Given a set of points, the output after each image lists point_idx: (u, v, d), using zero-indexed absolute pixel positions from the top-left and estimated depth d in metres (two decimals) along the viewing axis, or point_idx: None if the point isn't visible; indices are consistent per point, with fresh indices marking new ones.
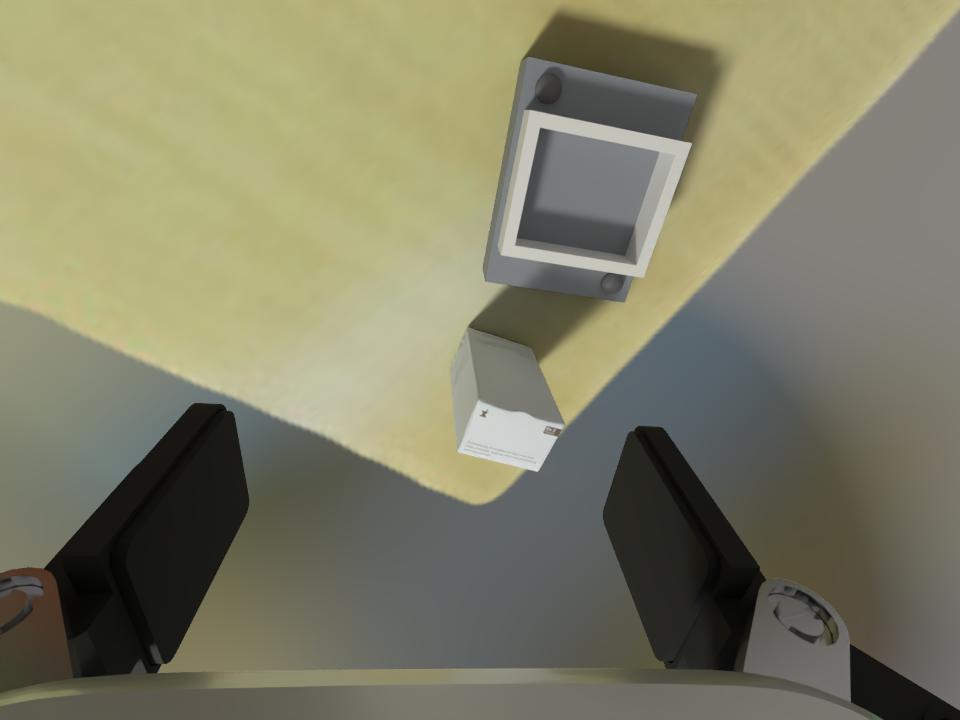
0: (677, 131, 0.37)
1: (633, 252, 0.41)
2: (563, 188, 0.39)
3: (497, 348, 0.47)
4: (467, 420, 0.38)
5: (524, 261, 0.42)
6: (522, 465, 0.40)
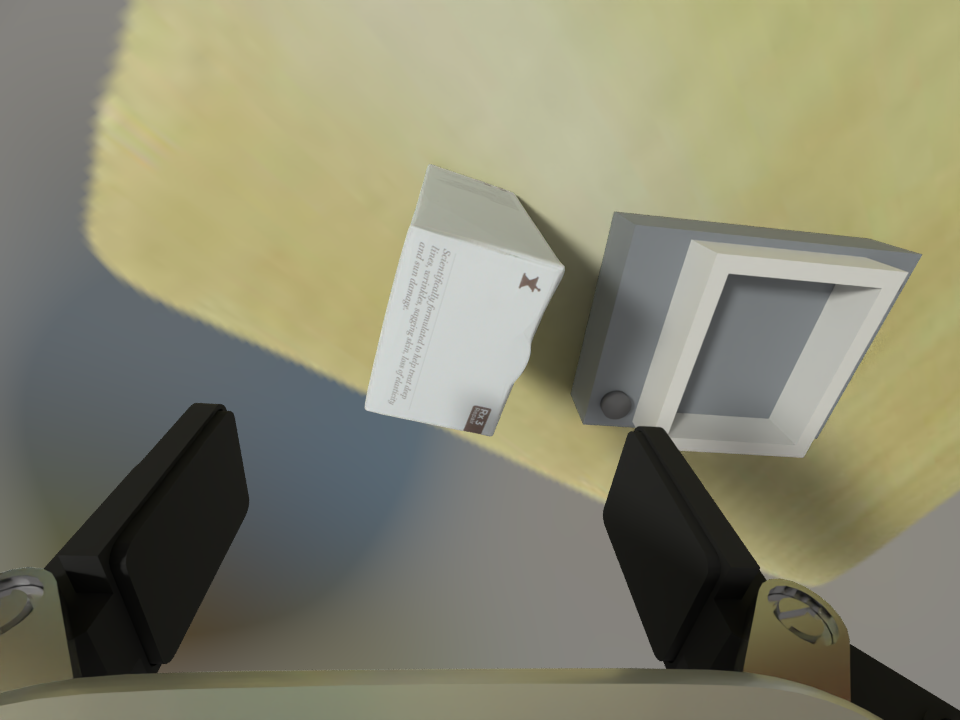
0: None
1: None
2: (753, 321, 0.29)
3: None
4: (497, 243, 0.16)
5: (660, 283, 0.27)
6: (381, 379, 0.18)
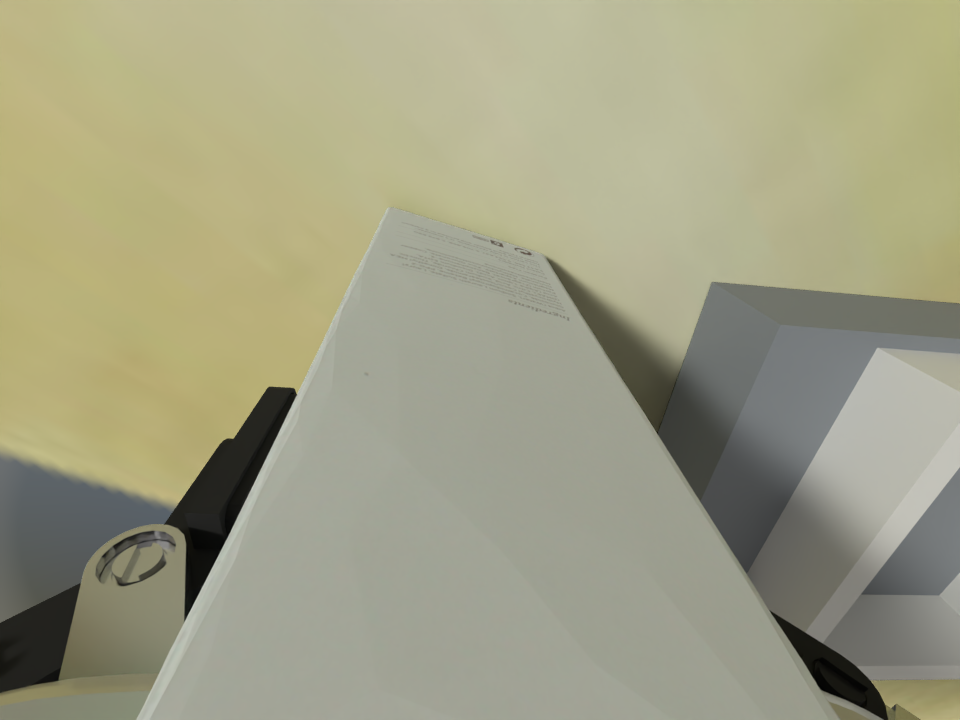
0: None
1: None
2: None
3: None
4: (596, 717, 0.03)
5: (807, 419, 0.15)
6: None
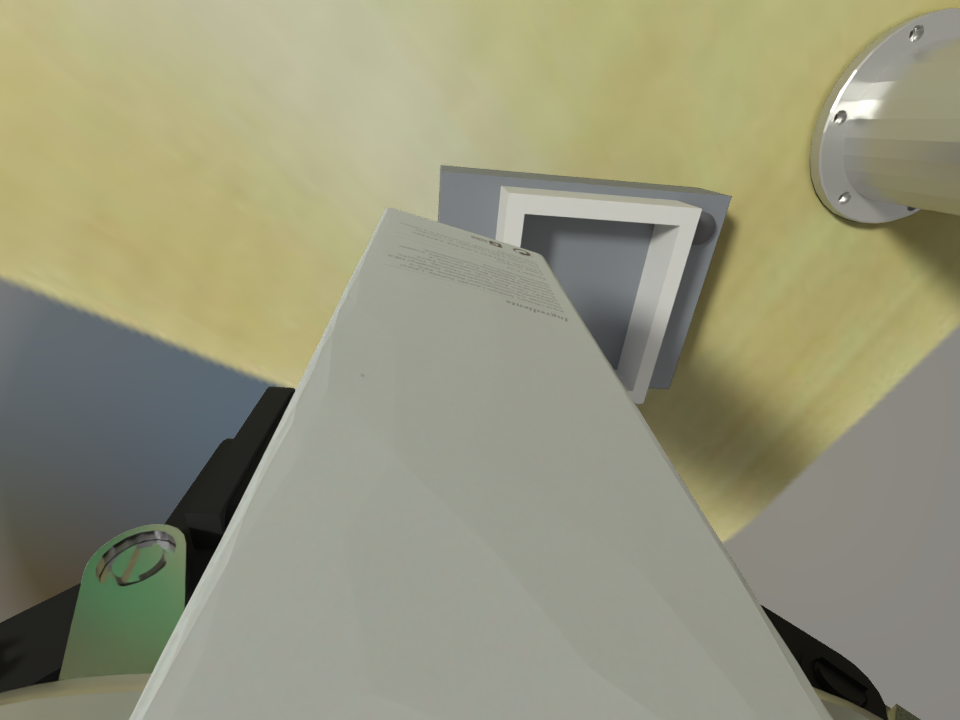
0: None
1: None
2: (580, 269, 0.29)
3: None
4: None
5: (479, 232, 0.28)
6: None
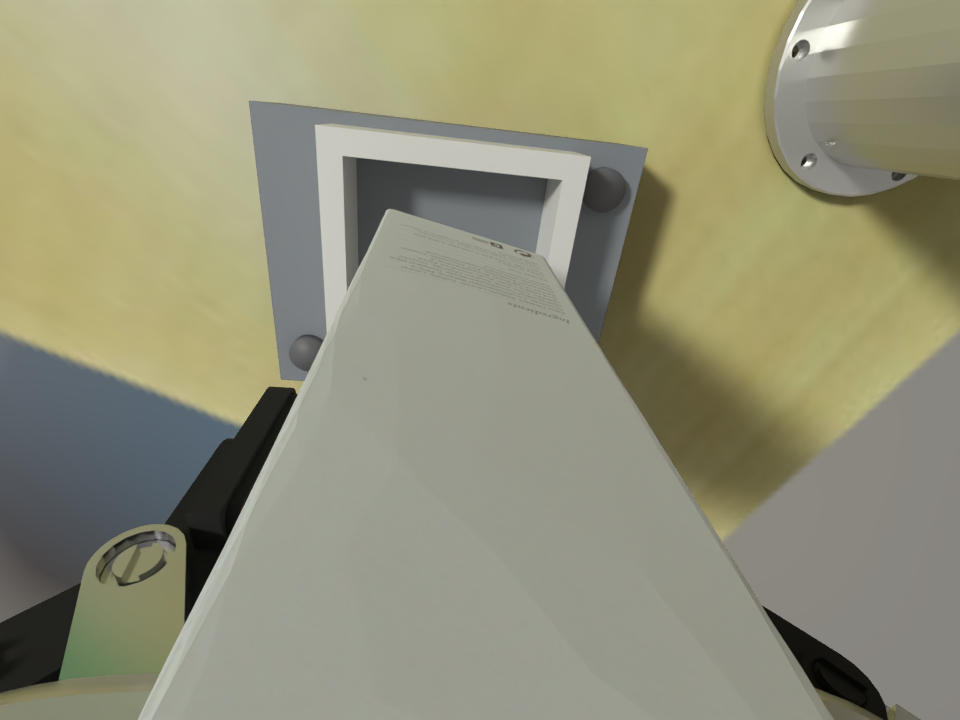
0: None
1: None
2: None
3: None
4: None
5: (312, 187, 0.21)
6: None
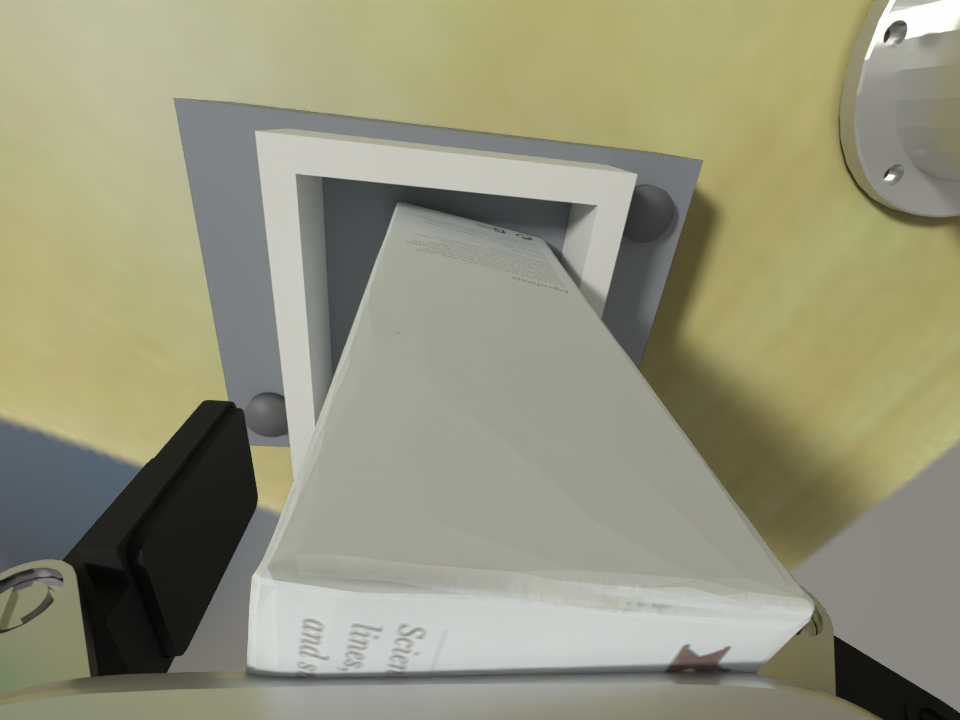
0: None
1: None
2: None
3: None
4: (589, 546, 0.05)
5: None
6: None
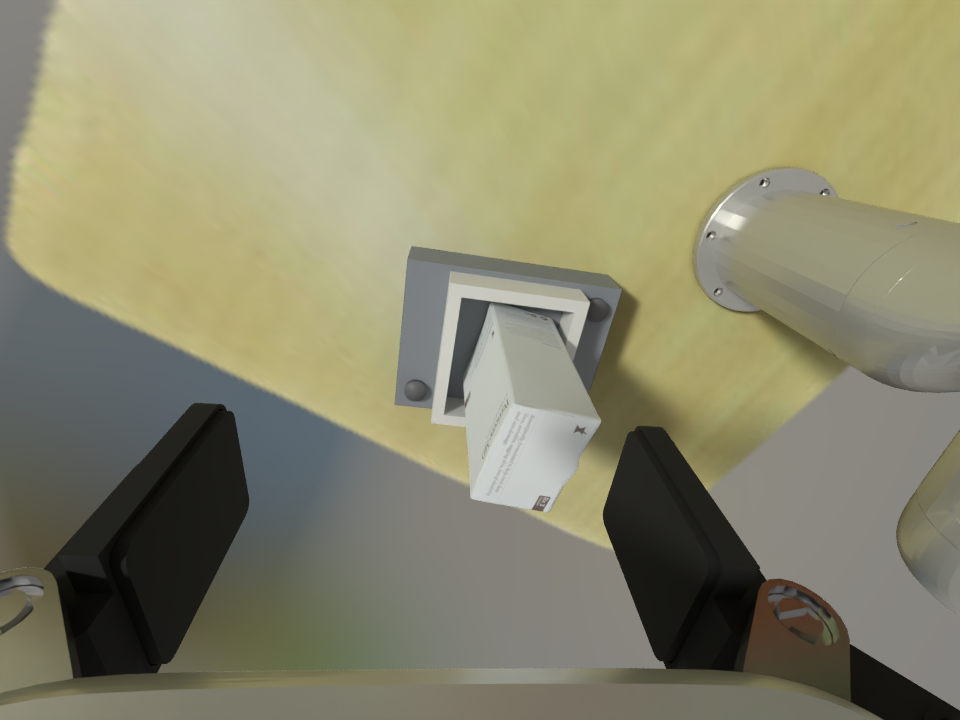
0: None
1: (451, 406, 0.41)
2: None
3: None
4: (561, 406, 0.26)
5: (433, 301, 0.38)
6: (484, 481, 0.28)
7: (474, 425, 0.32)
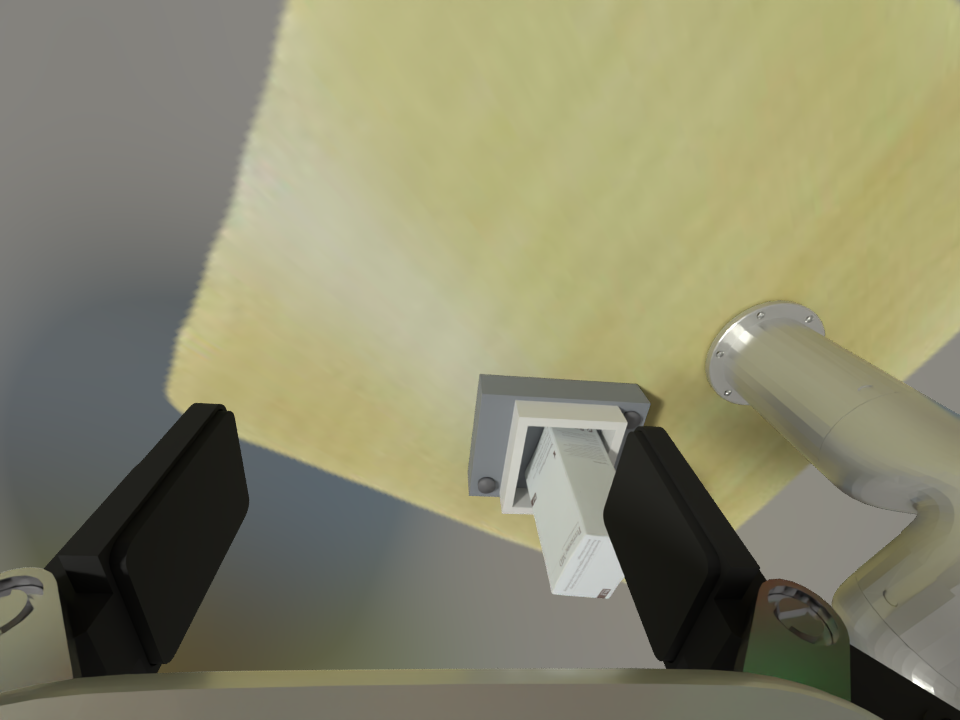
0: None
1: (516, 497, 0.51)
2: None
3: None
4: None
5: (501, 421, 0.48)
6: (562, 582, 0.38)
7: (546, 529, 0.42)
